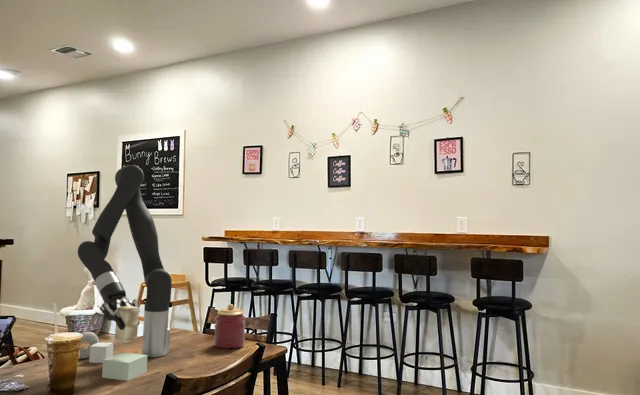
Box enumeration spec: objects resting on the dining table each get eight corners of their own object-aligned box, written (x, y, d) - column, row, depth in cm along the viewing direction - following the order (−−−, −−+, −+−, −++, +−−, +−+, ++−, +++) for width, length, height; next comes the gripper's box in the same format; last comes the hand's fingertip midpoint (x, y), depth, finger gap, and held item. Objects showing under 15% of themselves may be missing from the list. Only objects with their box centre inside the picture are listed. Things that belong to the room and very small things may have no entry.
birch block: (127, 337, 167) (129, 305, 167) (136, 339, 164) (139, 307, 165) (114, 340, 162) (117, 307, 163) (124, 342, 160) (126, 309, 160)
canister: (207, 346, 203) (209, 304, 205) (228, 340, 214) (229, 300, 216) (230, 351, 197) (232, 307, 198) (250, 345, 208) (252, 304, 209)
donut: (72, 362, 175) (74, 334, 176) (68, 360, 177) (70, 332, 178) (100, 357, 183) (101, 330, 183) (96, 355, 185) (97, 329, 186)
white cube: (89, 362, 175) (90, 346, 176) (96, 358, 181) (97, 342, 182) (105, 363, 175) (106, 346, 176) (112, 358, 181) (113, 342, 182)
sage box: (121, 369, 169) (122, 352, 169) (146, 372, 166) (147, 355, 166) (102, 378, 159) (102, 359, 159) (127, 381, 156) (128, 362, 157)
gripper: (97, 282, 162) (118, 323, 155) (132, 279, 174) (153, 317, 168) (86, 296, 164) (106, 337, 157) (122, 292, 177) (142, 330, 170)
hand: (130, 326), depth 163 cm, fingers closed on birch block, 5 cm apart
